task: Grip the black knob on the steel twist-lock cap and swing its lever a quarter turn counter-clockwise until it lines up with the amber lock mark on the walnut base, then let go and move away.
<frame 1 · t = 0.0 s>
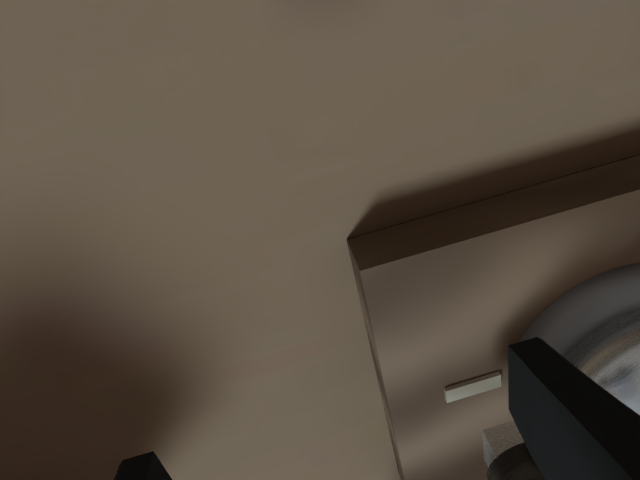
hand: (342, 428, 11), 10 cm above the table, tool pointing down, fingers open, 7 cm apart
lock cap: (639, 445, 21), point 7 cm above the table, hinge at 0.0°
lock base: (580, 314, 26), on the table
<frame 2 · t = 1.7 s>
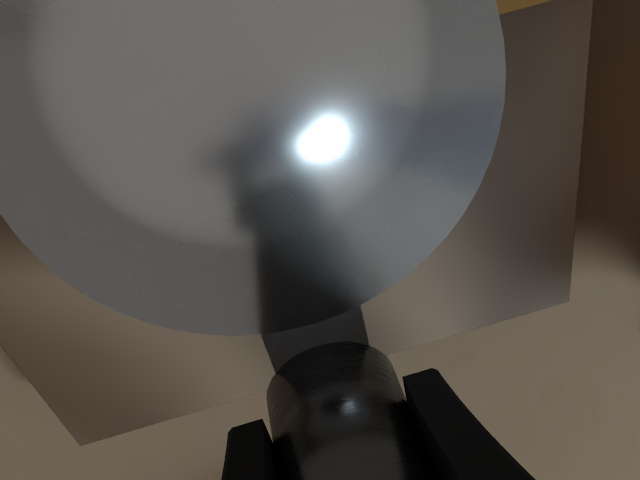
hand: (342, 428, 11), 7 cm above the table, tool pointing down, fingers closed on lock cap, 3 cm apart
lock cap: (289, 251, 9), point 7 cm above the table, hinge at 0.0°, touching gripper
lock base: (232, 38, 13), on the table
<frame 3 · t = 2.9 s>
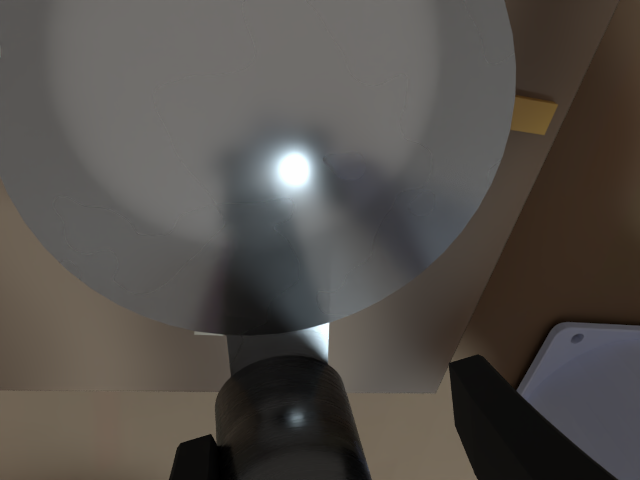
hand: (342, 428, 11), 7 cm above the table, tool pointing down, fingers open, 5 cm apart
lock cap: (280, 256, 9), point 7 cm above the table, hinge at 12.1°, touching gripper
lock base: (242, 42, 14), on the table
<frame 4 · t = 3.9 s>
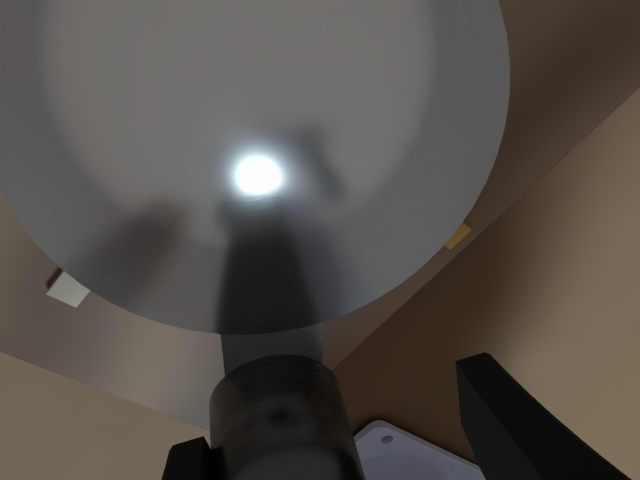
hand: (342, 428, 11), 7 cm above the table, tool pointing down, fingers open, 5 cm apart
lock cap: (273, 255, 9), point 7 cm above the table, hinge at 41.2°, touching gripper
lock base: (238, 41, 14), on the table
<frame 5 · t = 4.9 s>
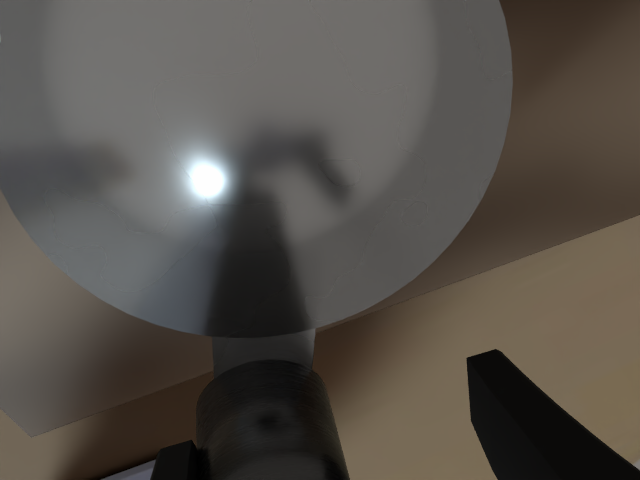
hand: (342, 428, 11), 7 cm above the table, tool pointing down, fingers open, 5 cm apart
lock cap: (271, 260, 9), point 7 cm above the table, hinge at 68.9°, touching gripper
lock base: (240, 44, 14), on the table
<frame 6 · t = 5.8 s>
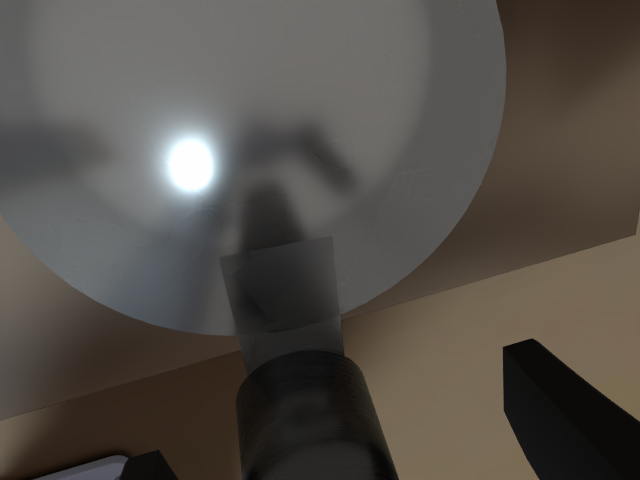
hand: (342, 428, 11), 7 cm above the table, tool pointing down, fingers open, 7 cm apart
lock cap: (278, 254, 9), point 7 cm above the table, hinge at 83.7°
lock base: (232, 38, 13), on the table
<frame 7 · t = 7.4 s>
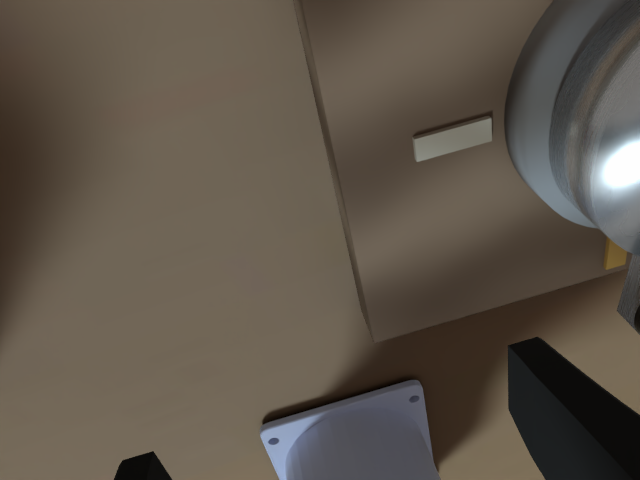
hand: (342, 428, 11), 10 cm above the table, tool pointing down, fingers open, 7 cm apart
lock base: (599, 66, 20), on the table
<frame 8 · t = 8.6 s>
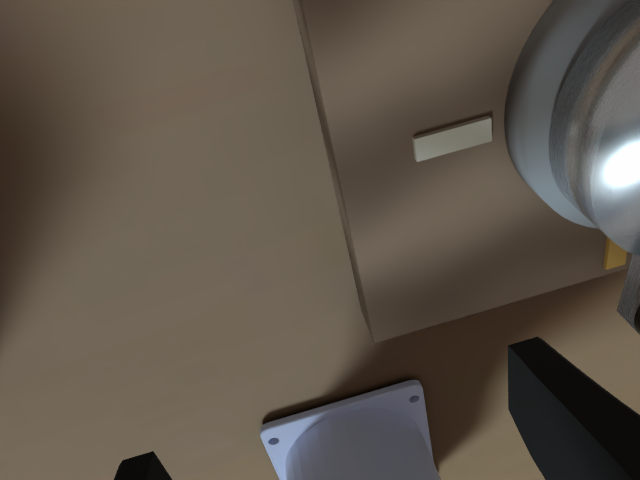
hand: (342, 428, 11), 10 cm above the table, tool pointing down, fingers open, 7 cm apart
lock base: (599, 66, 20), on the table
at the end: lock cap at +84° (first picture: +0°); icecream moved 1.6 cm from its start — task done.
